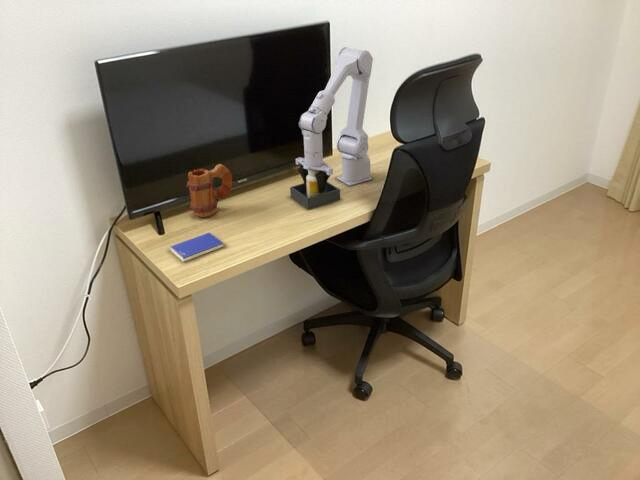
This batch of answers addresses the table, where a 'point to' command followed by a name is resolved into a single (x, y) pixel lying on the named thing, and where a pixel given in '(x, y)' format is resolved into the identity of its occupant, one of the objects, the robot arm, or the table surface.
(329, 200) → the bin
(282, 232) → the table surface
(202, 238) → the hard drive
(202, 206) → the mug
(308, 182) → the supplement bottle
